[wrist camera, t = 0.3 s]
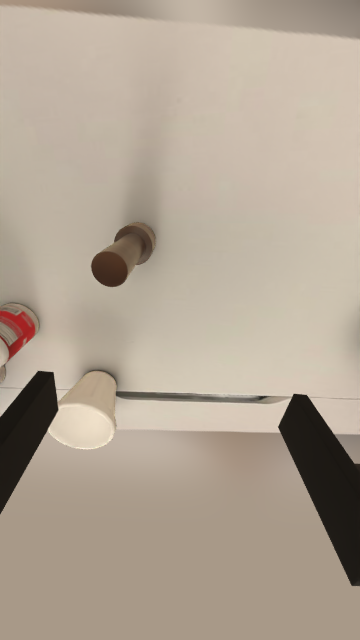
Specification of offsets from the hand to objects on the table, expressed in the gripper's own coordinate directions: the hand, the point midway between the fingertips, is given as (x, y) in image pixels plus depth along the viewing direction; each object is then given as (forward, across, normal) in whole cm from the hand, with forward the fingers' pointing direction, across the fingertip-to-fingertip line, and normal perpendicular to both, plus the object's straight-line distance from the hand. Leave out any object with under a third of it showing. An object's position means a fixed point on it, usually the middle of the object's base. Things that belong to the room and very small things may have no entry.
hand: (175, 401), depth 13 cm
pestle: (+22, -5, +5) cm, 23 cm away
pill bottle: (+23, -23, -9) cm, 34 cm away
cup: (+23, -11, -21) cm, 33 cm away
